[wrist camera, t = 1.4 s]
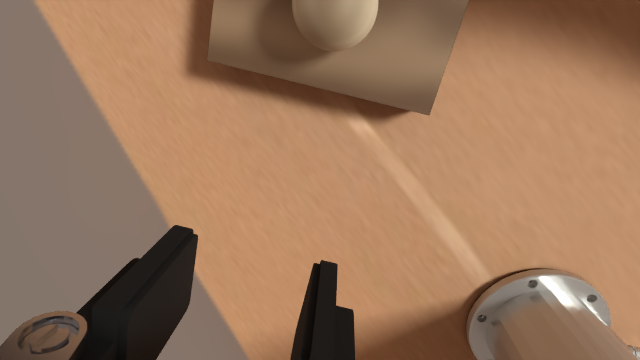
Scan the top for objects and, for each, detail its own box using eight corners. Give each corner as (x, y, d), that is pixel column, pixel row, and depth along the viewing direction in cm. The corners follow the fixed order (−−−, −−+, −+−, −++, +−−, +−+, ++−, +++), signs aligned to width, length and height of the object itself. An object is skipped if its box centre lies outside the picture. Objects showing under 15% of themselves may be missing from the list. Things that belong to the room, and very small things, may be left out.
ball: (384, -23, 22) (395, -44, 17) (362, 59, 24) (367, 60, 19) (307, -42, 22) (296, -69, 17) (291, 41, 24) (277, 38, 19)
